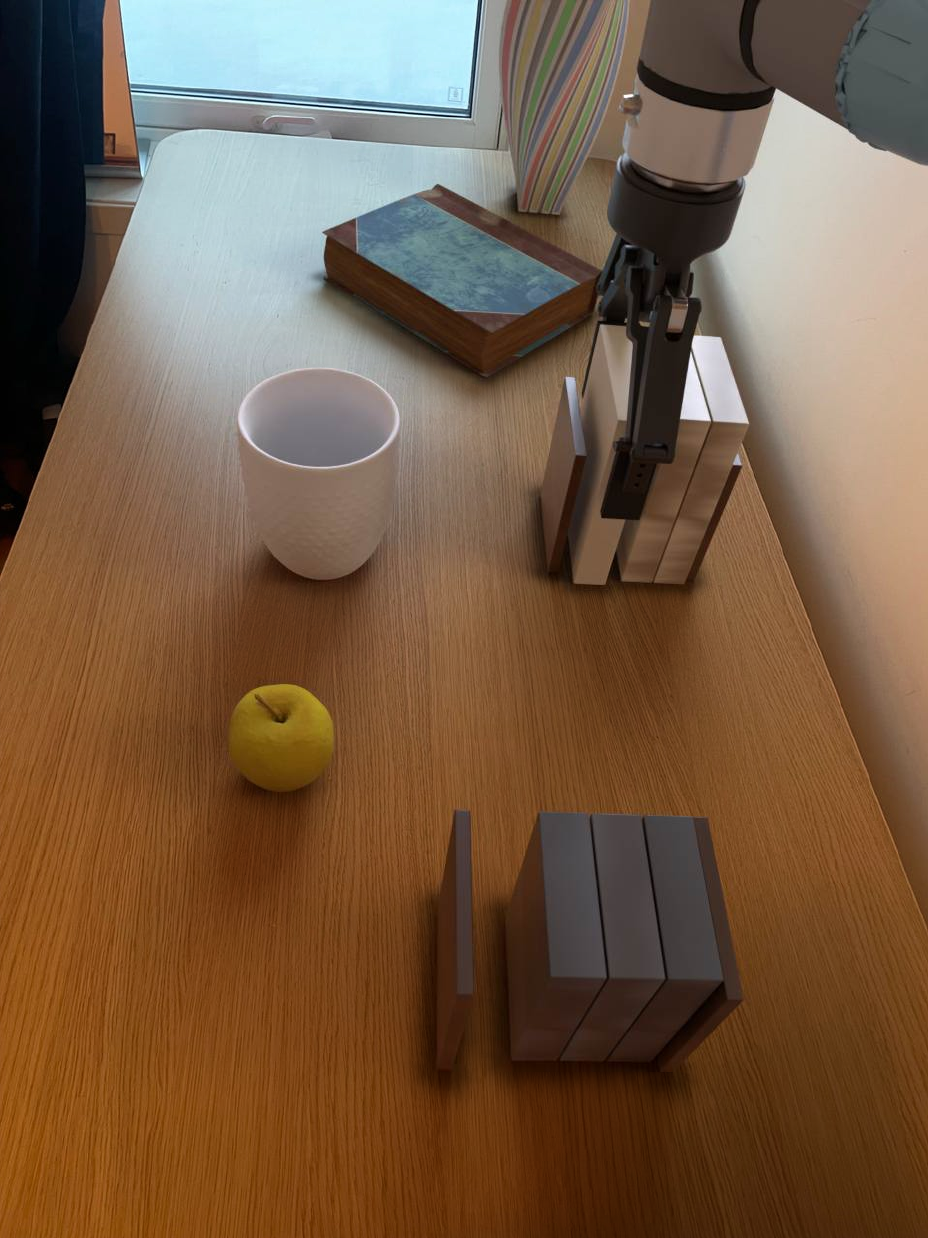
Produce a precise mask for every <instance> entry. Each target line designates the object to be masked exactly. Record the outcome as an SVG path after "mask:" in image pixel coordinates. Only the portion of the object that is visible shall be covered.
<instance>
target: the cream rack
mask: <svg viewBox="0 0 928 1238" xmlns="http://www.w3.org/2000/svg"><path fill="white" fill-rule="evenodd" d="M732 369H733V368H732V366H731V363H730V360H729V357H728V353H727V351H726V348H725V345H724V342H723V339H722V337H720V336H711V335H698V334H697V335H695V334H694V337H693V341H692V347H691V354H690V360H689V366H688V373H687V379H686V385H685V391H684V398H683V404H682V410H681V416H680V423H679V429H678V435H677V442H676V448H675V457H674V461H673V462H672V464H657V466H656V470H655V473H654V476H653V479H652V482H651V486H650V489H649V492H648V495H647V498H646V502H645V505H644V508H643V511H642V514H641V517H640V520H625V522H624V525H623V528H622V531H621V535H620V538H619V541H618V544H617V548H616V551H615V553H616V559H617V564H618V570H619V577H620V581H621V582H626V583H627V582H628V583H647V584H651V583H654V584H663V585H664V584H667V585H685V583H686V581H696V578H697V575H698V573H699V571H700V569H701V566H702V565H703V561H704V559H705V557H706V554H707V552H708V550H709V547H710V544H711V542H712V540H713V538H714V535H715V533H716V531H717V528H718V526H719V523H720V521H721V518H722V516H723V514H724V512H725V510H726V507H727V505H728V502H729V500H730V497H731V495H732V492H733V490H734V487H735V486H736V483H737V481H738V478H739V476H740V473H741V471H742V468H743V463H742V459H741V456H740V453H739V451H740V448H741V446H742V443H743V441H744V439H745V436H746V434H747V431H748V429H749V426H750V422H749V418H748V415H747V413H746V409H745V405H744V403H743V400H742V397H741V394H740V391H739V387H738V384H737V382H736V379H735V376H734V372H733V370H732ZM580 410H581V406H580V401H579V395H578V387H577V380H576V377H575V376H573V377H572V376H565V377H564V380H563V383H562V388H561V394H560V398H559V403H558V408H557V413H556V417H555V422H554V427H553V432H552V437H551V442H550V447H549V450H548V455H547V461H546V465H545V470H544V475H543V480H542V484H541V489H540V494H539V497H540V507H541V516H542V526H543V527H542V528H543V536H544V537H543V538H544V548H545V558H546V568H547V569H546V570H547V574H558V573H559V569H560V565H561V561H562V557H563V553H564V549H565V545H566V542H567V539H568V530H569V526H570V522H571V518H572V514H573V510H574V506H575V502H576V498H577V494H578V490H579V486H580V482H581V478H582V474H583V470H584V466H585V462H586V458H587V454H586V447H585V440H584V434H583V427H582V420H581V413H580Z"/></svg>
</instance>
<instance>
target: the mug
mask: <svg viewBox="0 0 928 1238" xmlns="http://www.w3.org/2000/svg"><path fill="white" fill-rule="evenodd" d="M236 428H237V430H236V431H237V438H238V439H237V440H238V452H239V460H240V464H239V465H240V468H241V476H242V481H243V485H244V493H245V494H244V495H245V497H246V502H247V507H248V509H249V511H250V516H251V517H250V518H252V519H251V520H252V521H253V522H254V525H255V529H256V531H257V532H258V533H259V536H260V539H261V540H262V542H263V543H264V544H265V546H266V548H267V549H268V551H269V552H270V553H271V555H272V556H273V557H274V558H275V559H276V560H278V562H280V564H282V565H283V566H284V567H285V568H287V569H288V570H290V571H291V572H293V573H295V574H297V575H298V576H301V577H304V578H307V579H312V580H317V581H325V580H326V581H328V580H336V579H340V578H342V577H345V576H347V575H350V574H352V573H354V572H355V571H357V570H358V569H359V568H361V567H362V566H363V565H364V564H365V563H366V562H367V561H368V559H369V558H371V556H372V554H373V553H374V552H376V550H377V548H378V546H379V544H380V543H381V541H382V537H383V536H384V535H385V533H386V531H387V526H388V524H389V522H390V517H391V515H392V512H393V506H394V503H395V499H396V492H397V486H398V485H397V483H398V482H397V481H398V480H397V479H398V475H399V462H400V447H401V443H400V437H401V435H400V434H401V417H400V412H399V409H398V406H397V404H396V403H395V400H394V399H393V398H392V396H391V395H390V394H389V393H388V392H387V391H386V390H385V389H384V388H383V387H382V386H380V385H379V384H378V383H376V382H375V381H373V380H371V379H370V378H367V377H366V376H364V375H361V374H357V373H355V372H351V371H348V370H344V369H338V368H332V367H306V368H297V369H292V370H288V371H284V372H281V373H279V374H275V375H273V376H270V377H268V378H267V379H264V380H263V381H261V382H259V383H258V384H257V385H255V386H254V387H253V388H252V389H251V390H250V391H249V392H248V393H247V394H246V395H245V397H244V398H243V399H242V401H241V403H240V405H239V408H238V410H237V417H236Z"/></svg>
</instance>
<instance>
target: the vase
mask: <svg viewBox="0 0 928 1238" xmlns="http://www.w3.org/2000/svg"><path fill="white" fill-rule="evenodd" d="M629 16H630V0H506V2H505V6H504V11H503V16H502V22H501V27H500V35H499V36H500V37H499V47H498V48H499V49H498V72H499V73H498V74H499V75H498V76H499V89H500V99H501V108H502V113H503V118H504V120H503V121H504V127H505V131H506V137H507V142H508V146H509V152H510V156H511V162H512V167H513V173H514V178H515V187H516V188H515V189H516V199H517V211H518V212H523V213H527V212H528V213H531V214H533V213H534V214H537V213H538V214H546V215H557V216H560V214H561V212H562V209H563V207H564V204H565V202H566V201H567V198H568V197H569V194H570V192H571V191H572V189H573V187H574V185H575V183H576V181H577V179H578V177H579V175H580V173H581V171H582V169H583V168H584V165H585V164H586V161H587V158H588V157H589V155H590V153H591V151H592V148H593V146H594V144H595V143H596V139H597V137H598V135H599V132H600V129H601V127H602V125H603V122H604V119H605V117H606V115H607V112H608V108H609V105H610V102H611V99H612V96H613V94H614V90H615V87H616V84H617V79H618V76H619V72H620V69H621V65H622V59H623V54H624V49H625V43H626V39H627V31H628V24H629Z"/></svg>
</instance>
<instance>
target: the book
mask: <svg viewBox="0 0 928 1238" xmlns="http://www.w3.org/2000/svg"><path fill="white" fill-rule="evenodd" d="M321 233H322V234H323V235H325V236H326V238H325V243H324V244H325V245H324V249H323V263H324V268H325V273H326V274H324V276H323V278H324V279H325V280H327V281H329V282H330V283H331V284H333V285H335V286H336V287H338V288H340V289H341V290H342V291H344V292H346V293H347V294H349V295H351V296H353V297H354V298H356V299H358V300H359V301H360V302H362V303H364V304H366V306H369V308H372V309H373V310H375V311H377V312H378V313H380V314H382V315H383V316H385V317H386V318H388V319H389V320H391V321H393V322H394V323H396V324H398V325H399V326H400V327H402V328H404V329H406V330H407V331H409V332H410V333H412V334H414V335H415V336H417V337H419V338H420V339H422V340H423V341H425V342H426V343H429V345H431V346H433V347H435V348H436V349H437V350H439V351H441V352H443V353H444V354H446V355H448V357H450V358H453V359H454V360H456V361H457V362H458V363H461V364H462V365H464V366H465V367H467V368H469V369H470V370H472V371H473V372H475V373H476V374H478V375H480V376H482V377H483V378H485V379H487V378H489V377H490V376H492V375H494V374H495V373H497V372H499V371H501V370H502V369H504V368H505V367H507V366H509V365H510V364H512V363H514V362H515V361H517V360H519V359H520V358H522V357H524V356H525V355H527V354H529V353H530V352H532V351H534V350H535V349H537V348H539V347H540V346H542V345H544V344H546V343H547V342H548V341H550V340H552V339H554V338H556V337H557V336H558V335H560V334H562V333H563V332H565V331H567V330H569V329H570V328H572V327H574V326H575V325H576V324H578V323H580V322H581V321H583V320H584V319H585V318H587V317H589V316H592V315H593V314H594V311H595V308H596V305H597V303H598V302H597V301H598V298H599V296H598V293H597V290H596V288H597V284H598V282H599V279H600V276H601V274H602V271H603V269H600V268H598V267H596V266H595V265H593V264H591V263H588V262H587V261H585V260H583V259H582V258H579V257H577V256H575V255H574V254H572V253H570V252H568V251H566V250H564V249H563V248H560V247H559V246H557V245H555V244H553V243H551V242H549V241H548V240H545V239H544V238H541V237H539V236H538V235H536V234H534V233H532V232H530V231H528V230H527V229H525V228H523V227H521V226H519V225H517V224H516V223H513V222H511V221H509V220H507V219H506V218H504V217H502V216H500V215H498V214H496V213H494V212H493V211H491V210H488V209H486V208H485V207H483V206H481V205H479V204H477V203H475V202H474V201H472V200H470V199H468V198H466V197H464V196H463V195H460V194H459V193H456V192H455V191H453V190H451V189H449V188H448V187H445V186H443V185H441V184H440V183H436V184H435V185H434V186H433V187H432V188H431V189H426V190H422V191H419V192H416V193H413V194H411V195H408V196H406V197H403V198H401V199H397V200H395V201H393V202H390V203H387V204H385V205H383V206H381V207H378V208H375V209H373V210H370V211H368V212H365V213H363V214H361V215H359V216H357V217H354V218H351V219H349V220H347V221H344V222H342V223H340V224H337V225H334V226H333V227H330V228H327V229H326V230H323V231H322V232H321Z"/></svg>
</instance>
